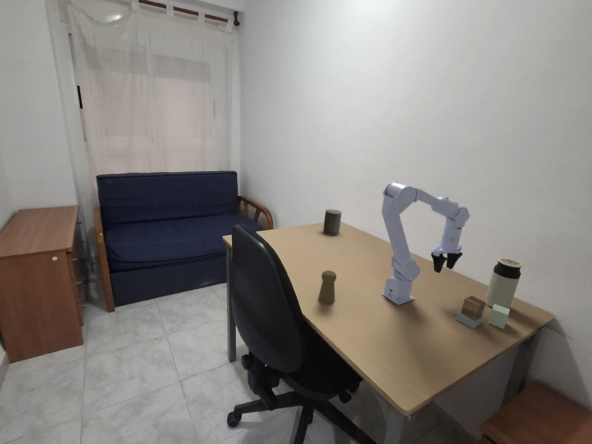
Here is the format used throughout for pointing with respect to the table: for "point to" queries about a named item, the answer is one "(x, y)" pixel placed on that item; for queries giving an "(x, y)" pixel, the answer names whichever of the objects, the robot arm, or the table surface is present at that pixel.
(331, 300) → the olive pawn
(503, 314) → the sage block
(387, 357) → the table surface
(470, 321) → the slate slab
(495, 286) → the travel mug
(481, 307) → the walnut block
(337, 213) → the pillar candle
